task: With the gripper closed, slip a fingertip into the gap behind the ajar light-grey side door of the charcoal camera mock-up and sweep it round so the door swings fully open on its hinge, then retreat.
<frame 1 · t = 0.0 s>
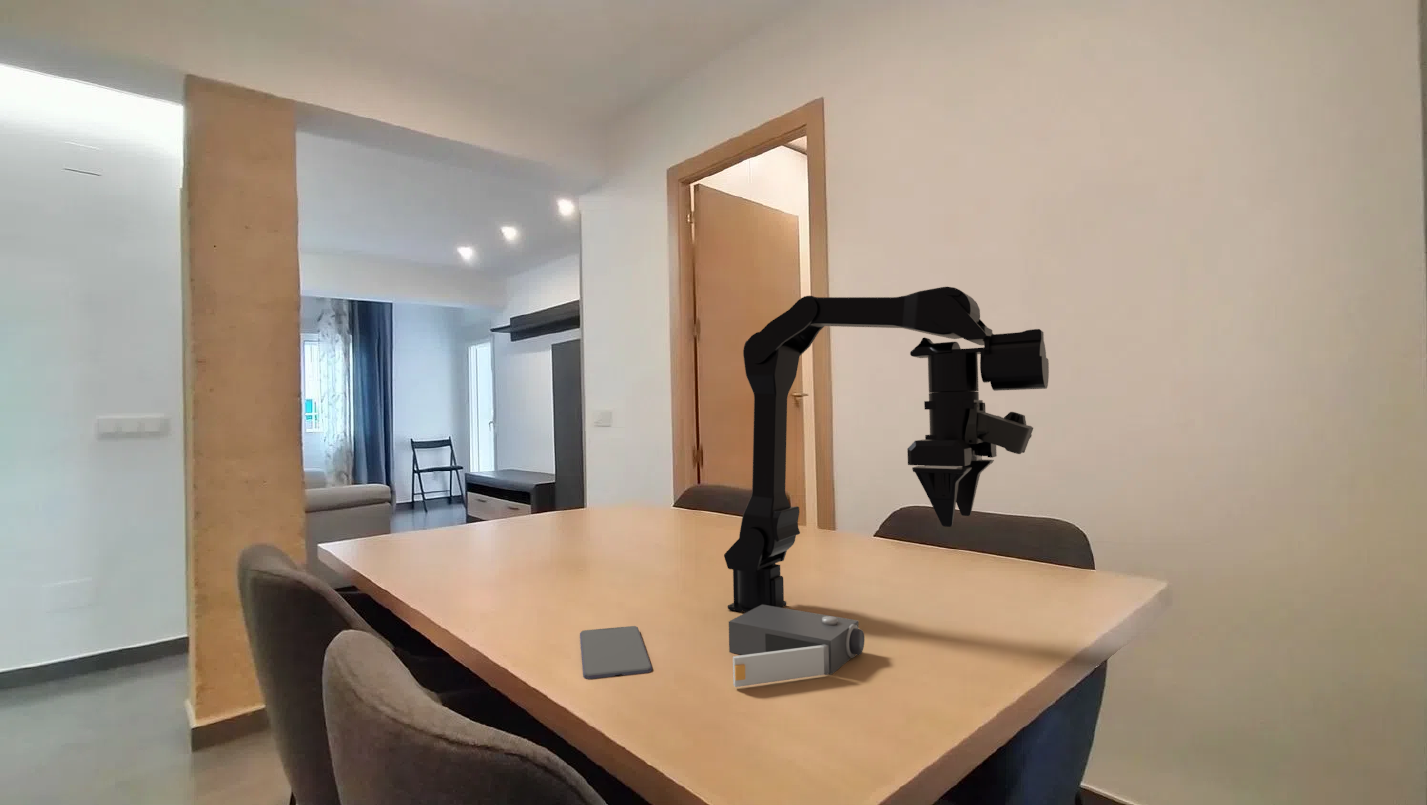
hand: (957, 520, 78), 15 cm above the table, fingers open, 9 cm apart
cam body: (793, 651, 76), on the table
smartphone: (613, 656, 77), on the table
side door: (782, 665, 67), point 2 cm above the table, hinge at 50.0°
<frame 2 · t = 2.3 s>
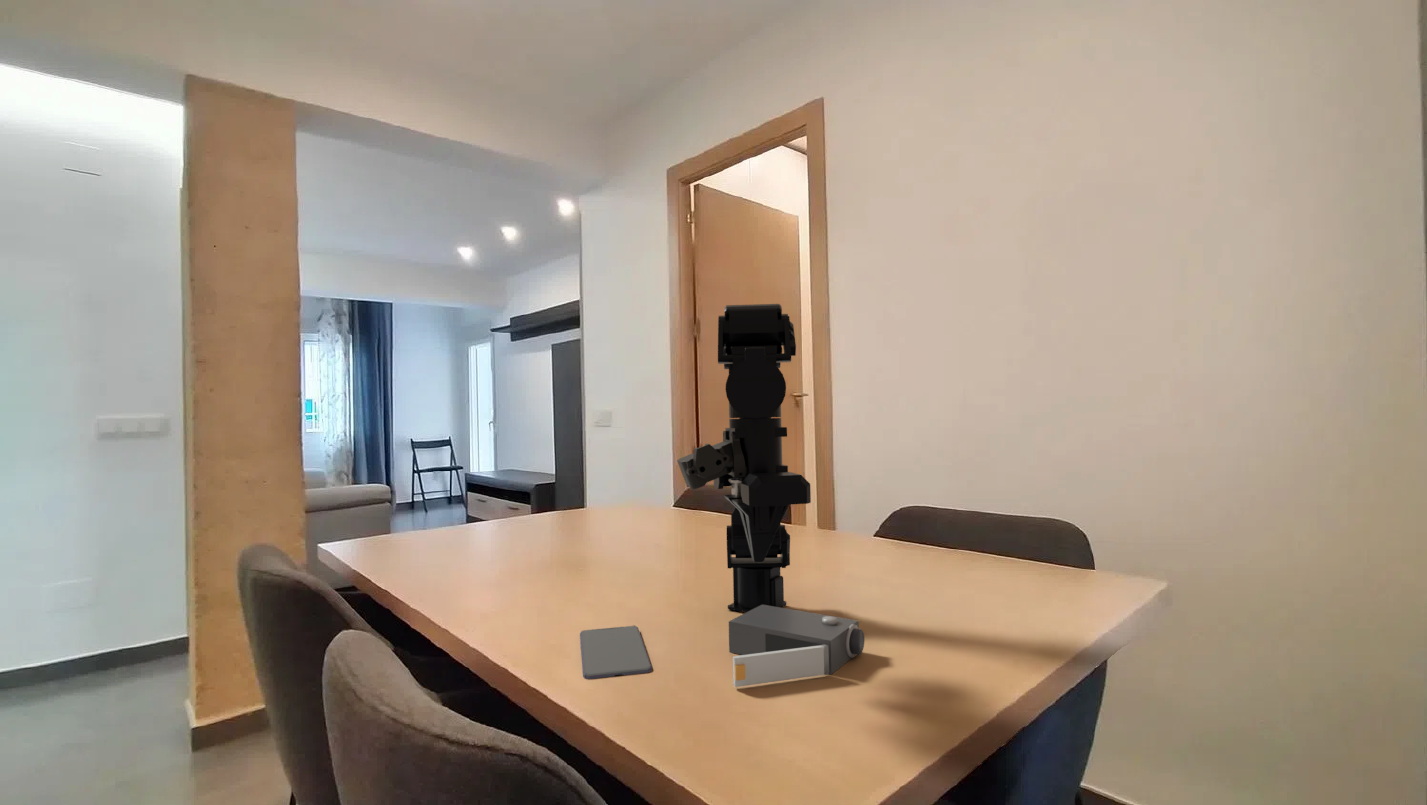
hand: (758, 561, 70), 12 cm above the table, fingers closed
nothing on the table moved.
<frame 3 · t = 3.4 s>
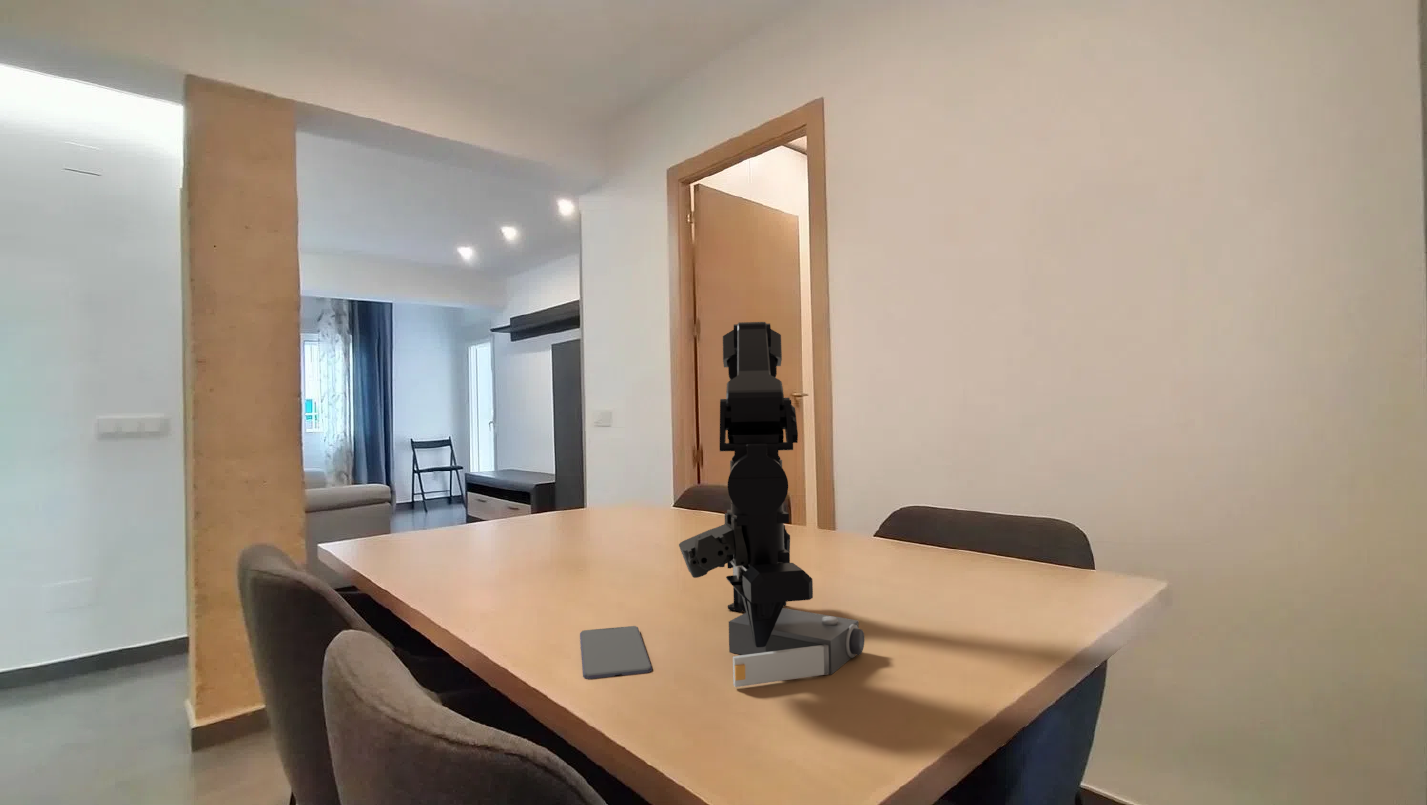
hand: (759, 646, 70), 3 cm above the table, fingers closed
nothing on the table moved.
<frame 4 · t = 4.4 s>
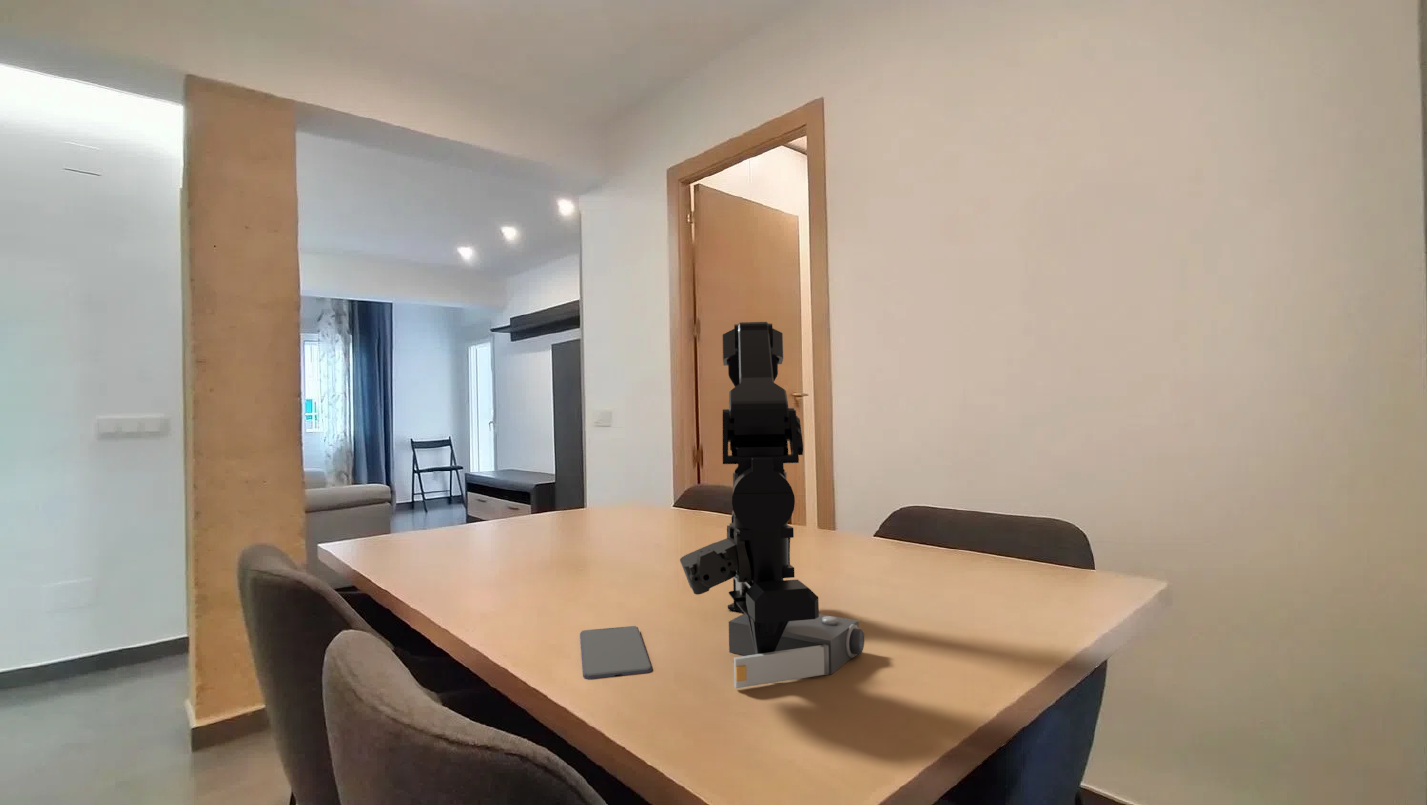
hand: (763, 664, 68), 2 cm above the table, fingers closed
side door: (783, 666, 67), point 2 cm above the table, hinge at 51.8°, touching gripper
everything else where it was.
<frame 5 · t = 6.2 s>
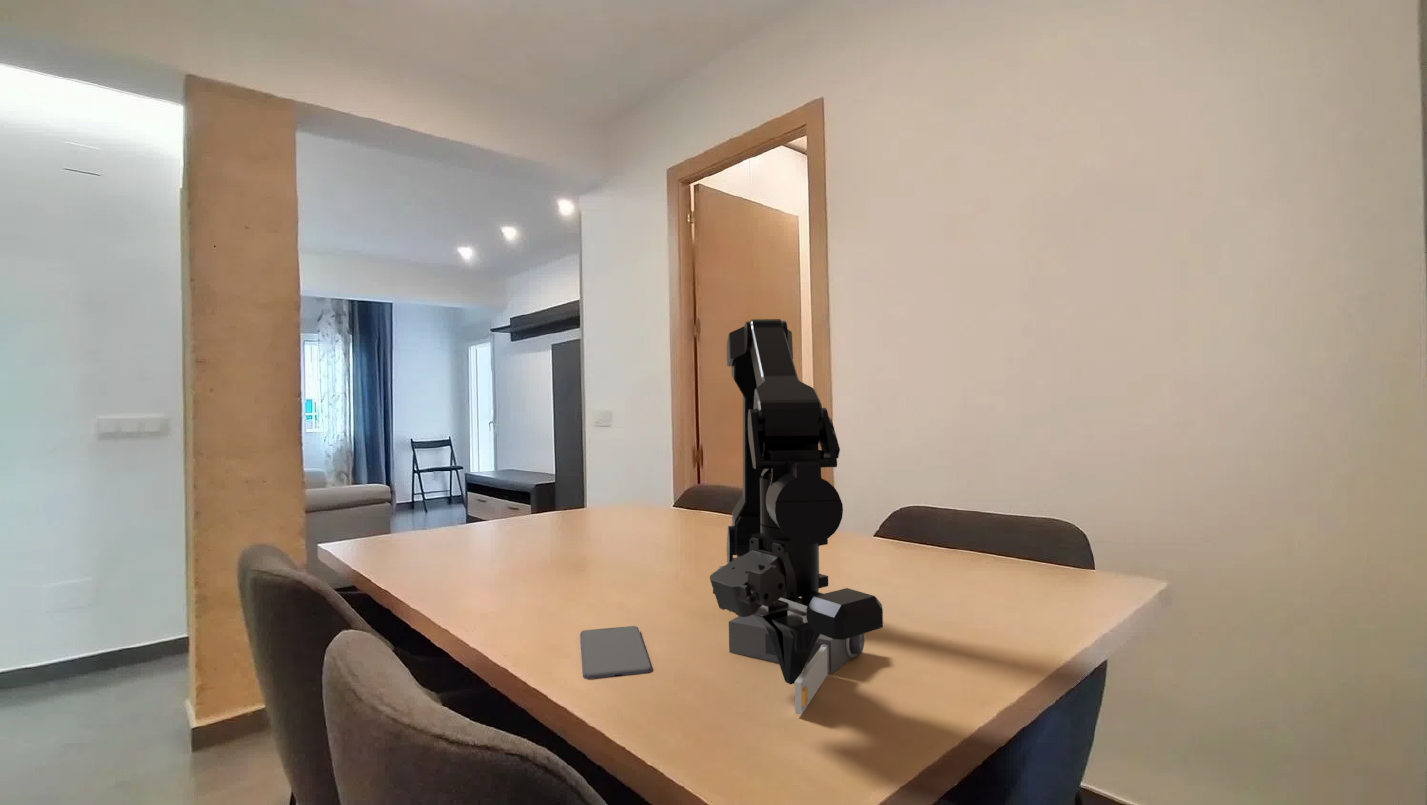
hand: (791, 682, 64), 2 cm above the table, fingers closed
side door: (814, 676, 64), point 2 cm above the table, hinge at 100.3°, touching gripper
everything else where it was.
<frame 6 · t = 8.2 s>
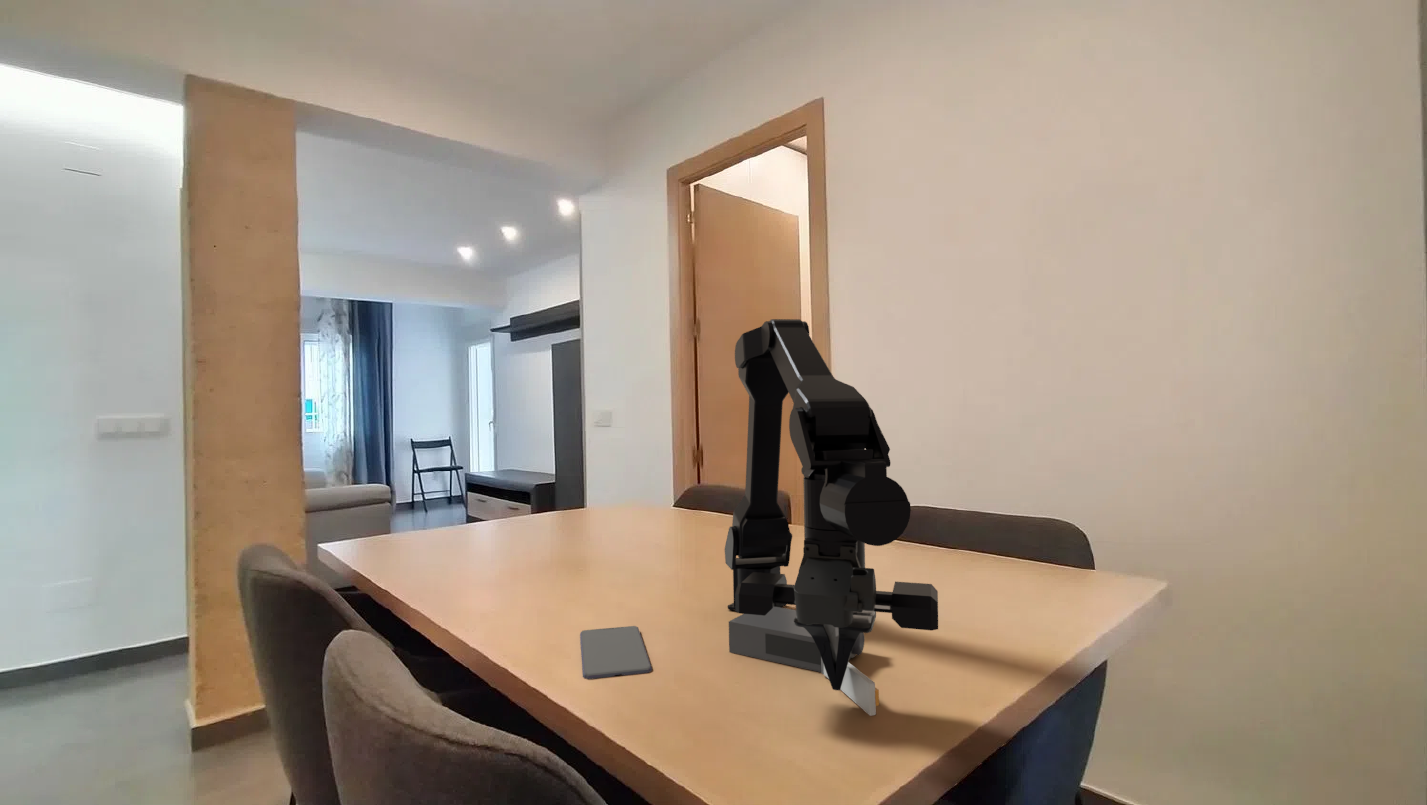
hand: (837, 688, 62), 2 cm above the table, fingers closed
side door: (847, 676, 64), point 2 cm above the table, hinge at 139.0°, touching gripper
everything else where it was.
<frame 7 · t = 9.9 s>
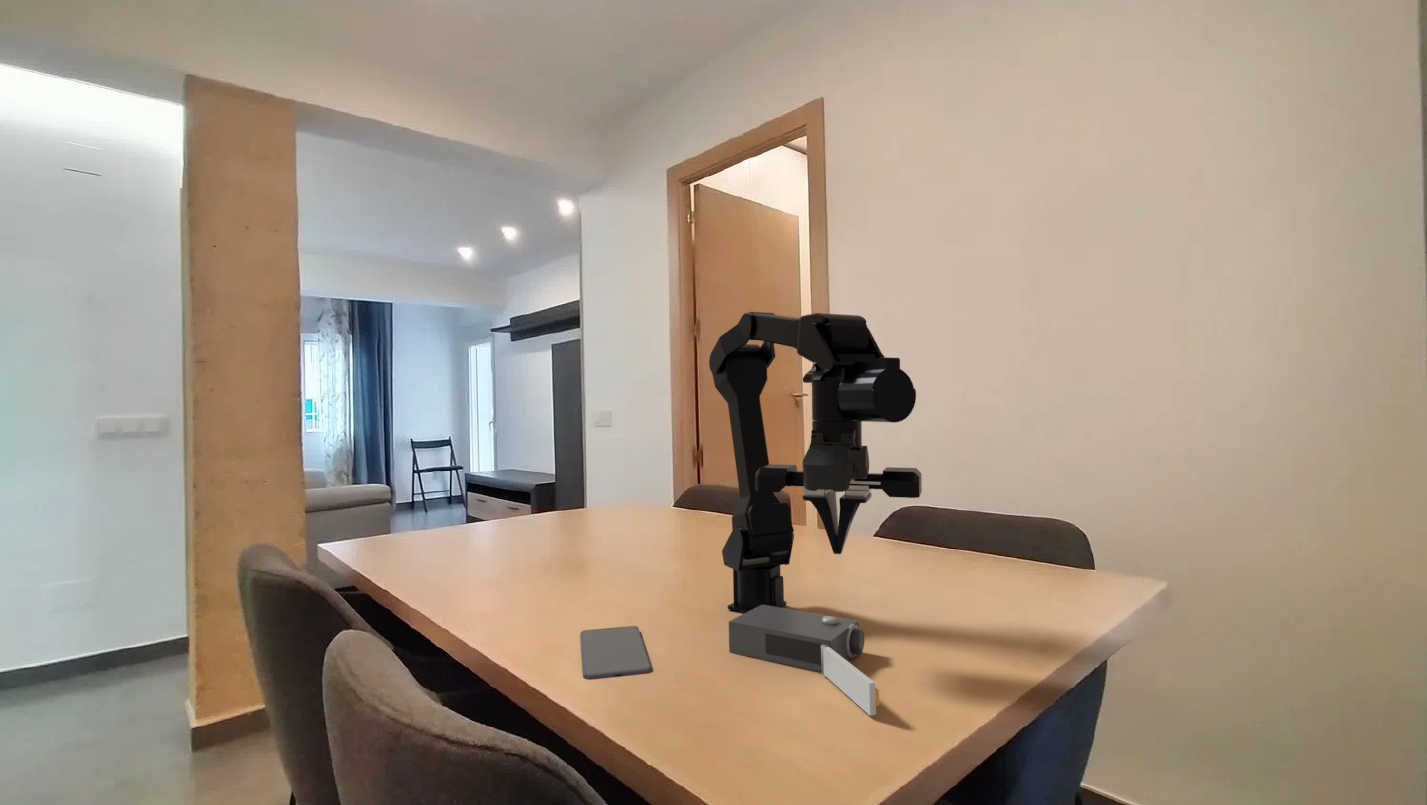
hand: (837, 553, 76), 12 cm above the table, fingers closed
side door: (847, 676, 64), point 2 cm above the table, hinge at 139.1°
everything else where it was.
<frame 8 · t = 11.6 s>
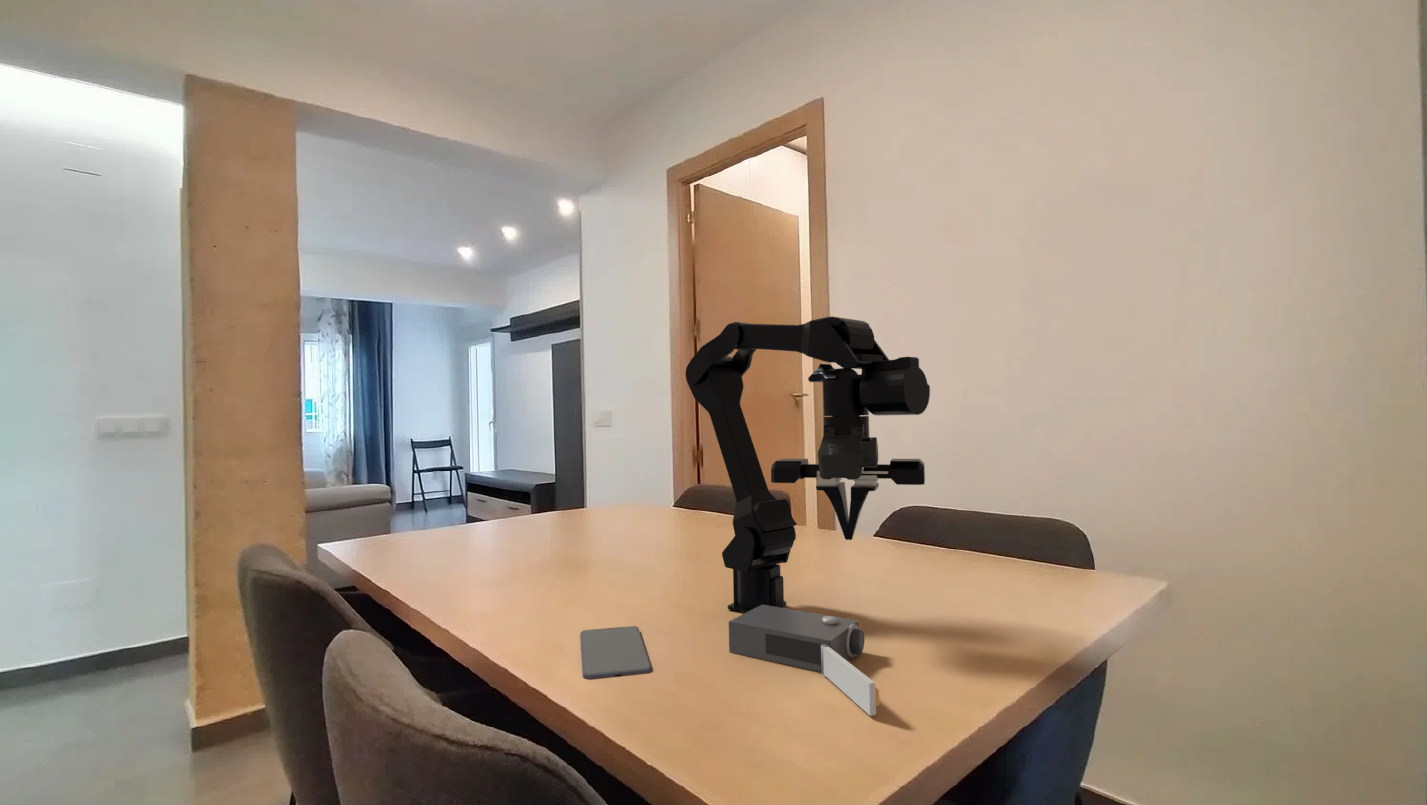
hand: (848, 539, 82), 12 cm above the table, fingers closed
nothing on the table moved.
at the end: side door at +139° (first picture: +50°); side door touching nothing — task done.
